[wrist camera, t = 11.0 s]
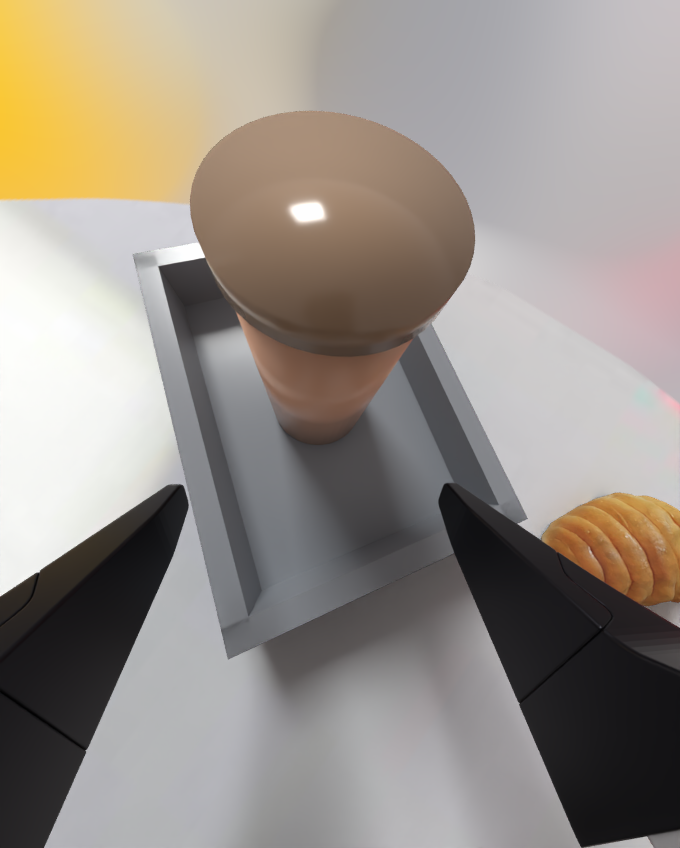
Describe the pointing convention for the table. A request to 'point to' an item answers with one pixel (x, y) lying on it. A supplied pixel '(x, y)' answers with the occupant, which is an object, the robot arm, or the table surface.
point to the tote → (305, 464)
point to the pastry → (624, 544)
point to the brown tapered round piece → (329, 255)
